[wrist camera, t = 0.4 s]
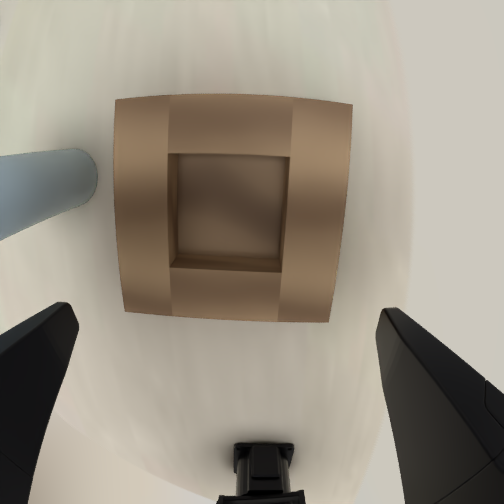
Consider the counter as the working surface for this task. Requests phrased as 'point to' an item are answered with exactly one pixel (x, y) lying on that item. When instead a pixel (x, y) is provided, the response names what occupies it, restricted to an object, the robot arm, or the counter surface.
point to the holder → (230, 205)
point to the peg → (43, 186)
